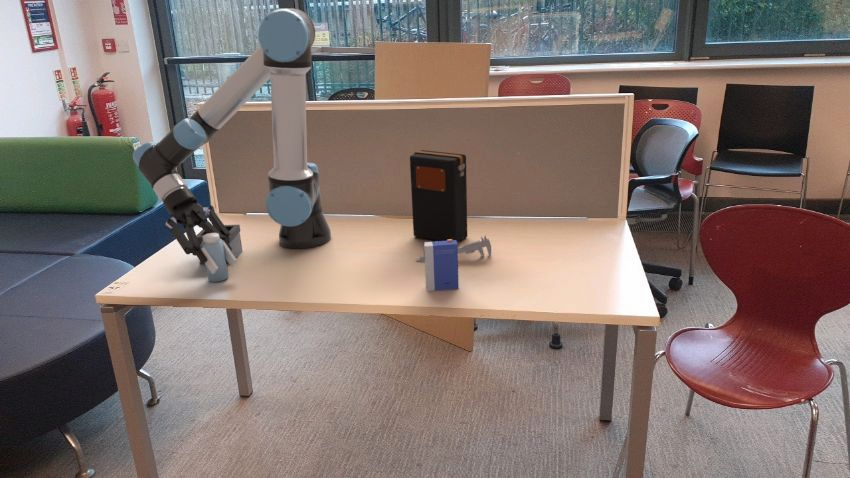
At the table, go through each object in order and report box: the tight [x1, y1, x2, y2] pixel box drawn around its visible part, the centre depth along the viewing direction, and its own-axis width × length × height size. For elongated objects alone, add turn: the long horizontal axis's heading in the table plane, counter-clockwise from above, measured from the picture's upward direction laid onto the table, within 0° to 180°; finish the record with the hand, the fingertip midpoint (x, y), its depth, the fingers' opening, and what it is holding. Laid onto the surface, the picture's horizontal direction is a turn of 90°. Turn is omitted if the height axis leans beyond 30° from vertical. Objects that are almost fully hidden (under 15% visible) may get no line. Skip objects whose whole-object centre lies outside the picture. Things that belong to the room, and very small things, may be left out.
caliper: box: [415, 235, 492, 263], centre depth 169 cm, size 20×1×6 cm, turn 94°
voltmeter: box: [409, 149, 468, 243], centre depth 180 cm, size 16×9×25 cm, turn 58°
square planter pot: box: [196, 224, 243, 265], centre depth 175 cm, size 9×9×8 cm
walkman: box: [423, 239, 459, 292], centre depth 151 cm, size 8×3×12 cm, turn 95°
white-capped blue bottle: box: [202, 233, 229, 283], centre depth 161 cm, size 5×5×12 cm
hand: (224, 267), depth 159 cm, fingers closed on white-capped blue bottle, 5 cm apart
